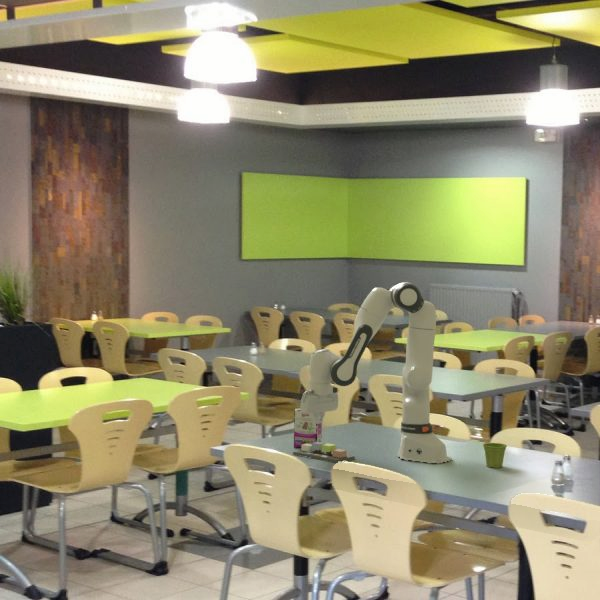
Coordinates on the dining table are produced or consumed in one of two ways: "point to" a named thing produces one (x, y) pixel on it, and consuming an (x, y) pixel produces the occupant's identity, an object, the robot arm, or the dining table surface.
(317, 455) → the keypad board
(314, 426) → the candy bar box
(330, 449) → the lime green cube
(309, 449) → the key ivory
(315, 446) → the key slate
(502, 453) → the plant pot
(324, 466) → the dining table surface
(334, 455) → the salmon cube
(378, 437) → the dining table surface
